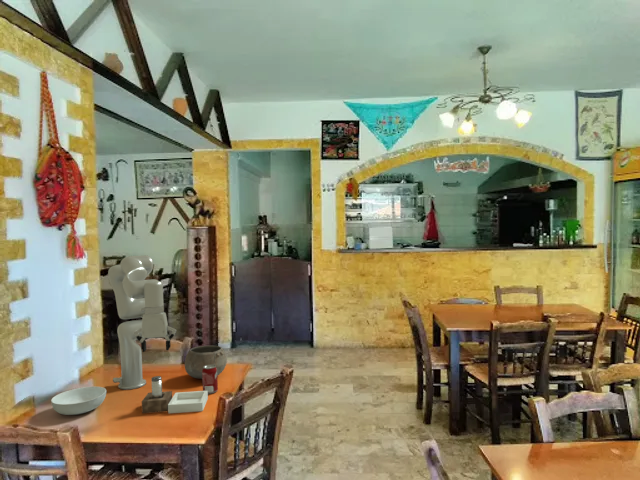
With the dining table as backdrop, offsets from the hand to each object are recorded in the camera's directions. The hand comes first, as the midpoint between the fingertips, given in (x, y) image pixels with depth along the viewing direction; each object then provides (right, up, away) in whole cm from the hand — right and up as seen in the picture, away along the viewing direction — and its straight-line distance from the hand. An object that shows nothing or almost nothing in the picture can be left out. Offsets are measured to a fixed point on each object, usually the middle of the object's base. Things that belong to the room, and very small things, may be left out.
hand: (156, 350), depth 191 cm
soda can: (+19, -24, +17) cm, 35 cm away
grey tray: (+13, -24, +2) cm, 28 cm away
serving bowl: (-33, -26, 0) cm, 42 cm away
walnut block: (0, -25, +1) cm, 25 cm away
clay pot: (+12, -23, +38) cm, 46 cm away
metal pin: (0, -25, +1) cm, 25 cm away
